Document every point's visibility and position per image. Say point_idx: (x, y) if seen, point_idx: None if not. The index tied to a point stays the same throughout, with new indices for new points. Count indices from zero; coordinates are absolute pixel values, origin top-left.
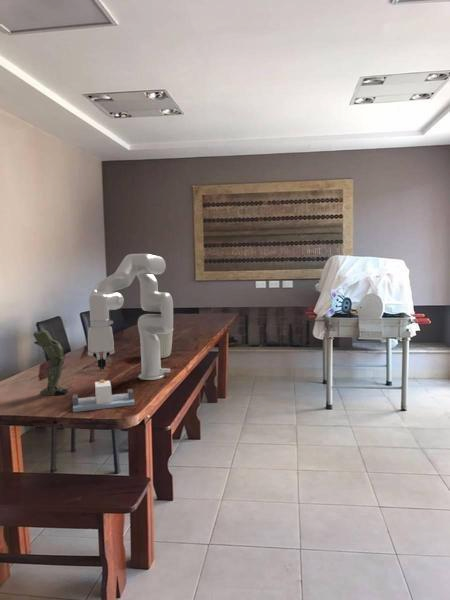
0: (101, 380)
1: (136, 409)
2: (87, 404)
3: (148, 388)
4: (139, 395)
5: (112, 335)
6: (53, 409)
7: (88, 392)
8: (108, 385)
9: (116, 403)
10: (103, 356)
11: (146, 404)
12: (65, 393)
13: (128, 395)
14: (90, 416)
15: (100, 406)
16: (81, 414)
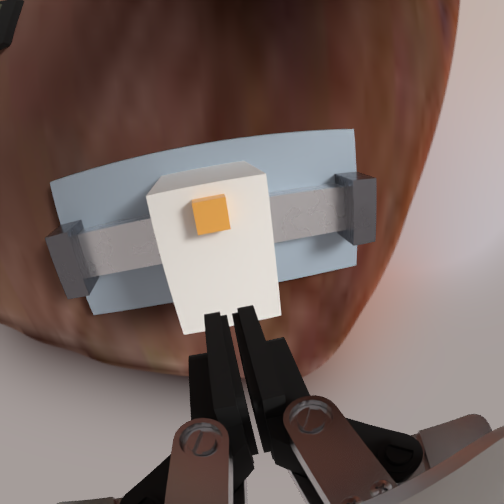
0: (204, 223)
1: (346, 307)
2: (141, 277)
3: (407, 31)
4: (377, 118)
5: None
6: (14, 260)
7: (111, 3)
8: (264, 308)
9: (280, 281)
10: (299, 486)
11: (387, 256)
12: (11, 34)
13: (344, 230)
14: (182, 358)
15: None
16: (141, 336)
